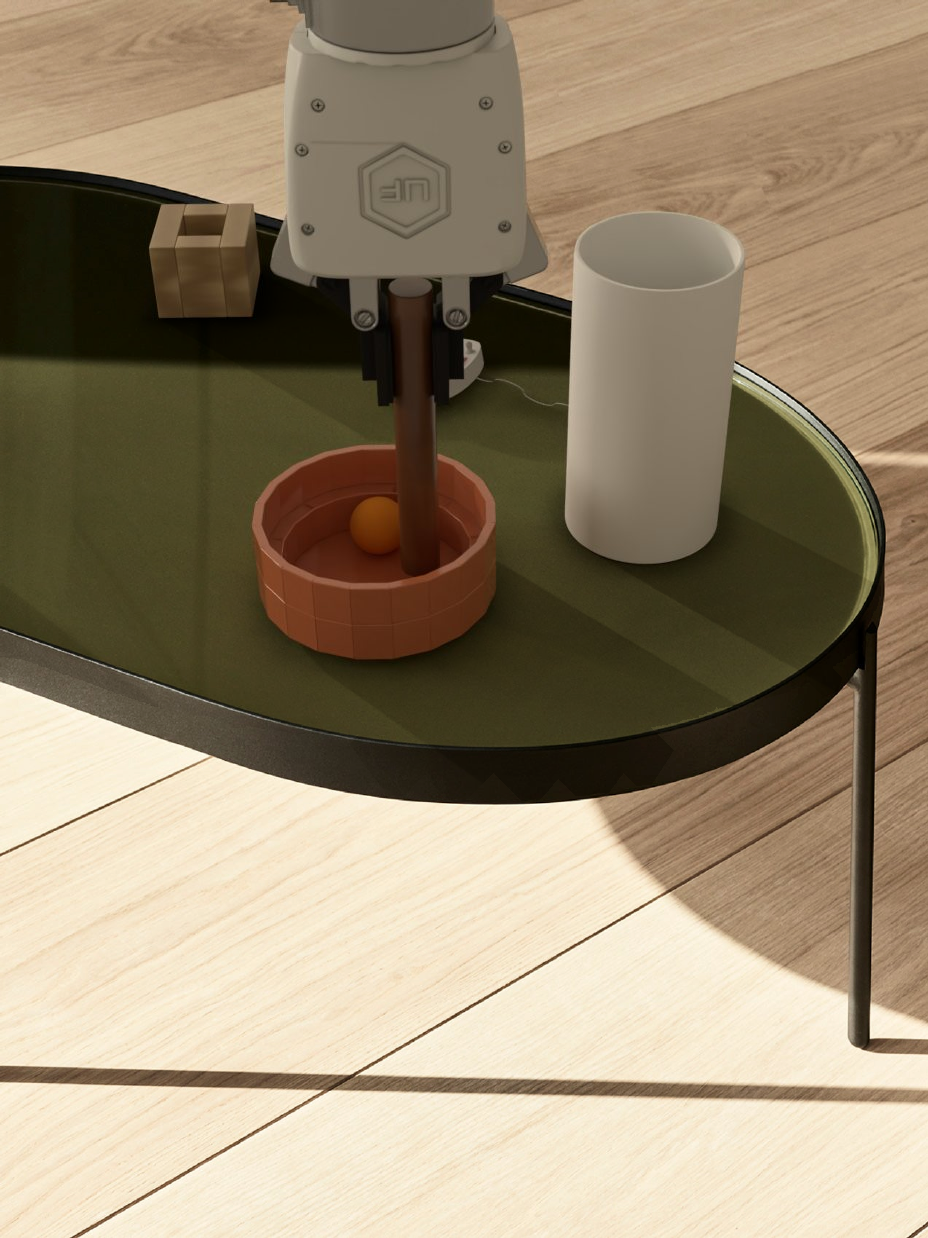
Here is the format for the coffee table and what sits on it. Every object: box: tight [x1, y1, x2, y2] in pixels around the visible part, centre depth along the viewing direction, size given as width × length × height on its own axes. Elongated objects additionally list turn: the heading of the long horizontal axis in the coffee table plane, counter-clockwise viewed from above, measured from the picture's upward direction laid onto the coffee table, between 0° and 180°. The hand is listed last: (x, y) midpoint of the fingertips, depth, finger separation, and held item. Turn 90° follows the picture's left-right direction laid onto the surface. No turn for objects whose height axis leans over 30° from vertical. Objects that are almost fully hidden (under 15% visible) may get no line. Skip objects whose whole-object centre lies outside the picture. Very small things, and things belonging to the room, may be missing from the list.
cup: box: [564, 210, 746, 565], centre depth 86 cm, size 8×8×16 cm
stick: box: [387, 278, 440, 577], centre depth 80 cm, size 2×2×16 cm
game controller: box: [449, 338, 569, 407], centre depth 100 cm, size 6×12×3 cm, turn 81°
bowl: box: [251, 444, 497, 660], centre depth 85 cm, size 12×12×5 cm
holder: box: [148, 202, 261, 319], centre depth 108 cm, size 6×6×5 cm
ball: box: [350, 497, 400, 554], centre depth 87 cm, size 3×3×3 cm
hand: (414, 387), depth 79 cm, fingers closed on stick, 2 cm apart
